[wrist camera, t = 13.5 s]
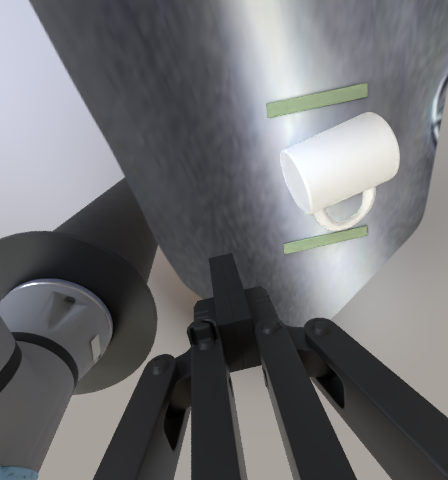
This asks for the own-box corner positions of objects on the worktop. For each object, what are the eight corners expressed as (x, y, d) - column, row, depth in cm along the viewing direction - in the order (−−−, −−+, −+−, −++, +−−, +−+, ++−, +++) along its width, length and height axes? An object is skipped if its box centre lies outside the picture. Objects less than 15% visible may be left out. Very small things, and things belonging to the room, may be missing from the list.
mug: (273, 148, 35) (295, 153, 27) (350, 112, 34) (393, 108, 27) (302, 231, 39) (327, 255, 32) (369, 201, 38) (411, 219, 31)
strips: (284, 253, 40) (285, 254, 40) (266, 104, 33) (266, 103, 32) (365, 235, 40) (367, 235, 40) (366, 83, 33) (367, 82, 33)
